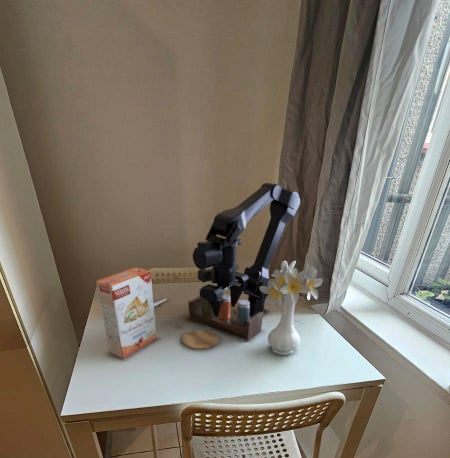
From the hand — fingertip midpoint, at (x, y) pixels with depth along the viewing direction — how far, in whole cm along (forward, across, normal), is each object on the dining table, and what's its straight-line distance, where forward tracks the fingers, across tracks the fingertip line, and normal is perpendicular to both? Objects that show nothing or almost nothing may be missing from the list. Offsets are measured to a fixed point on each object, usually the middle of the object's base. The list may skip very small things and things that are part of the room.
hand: (224, 311), depth 107 cm
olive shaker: (+2, 0, -7) cm, 7 cm away
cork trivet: (+5, +13, 0) cm, 14 cm away
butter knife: (+5, +10, -28) cm, 30 cm away
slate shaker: (+2, 0, +7) cm, 7 cm away
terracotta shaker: (+2, 0, 0) cm, 2 cm away
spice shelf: (+5, 0, 0) cm, 5 cm away
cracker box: (+5, +27, -13) cm, 30 cm away
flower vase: (+5, +3, +23) cm, 24 cm away
